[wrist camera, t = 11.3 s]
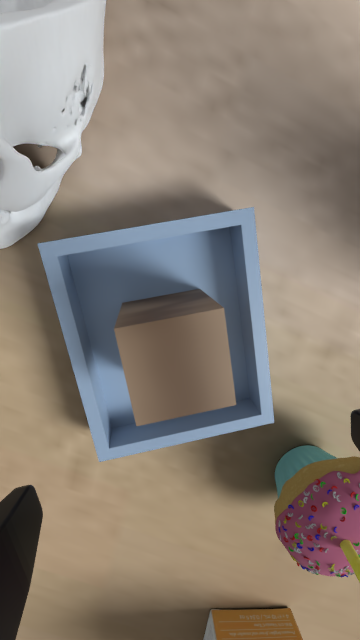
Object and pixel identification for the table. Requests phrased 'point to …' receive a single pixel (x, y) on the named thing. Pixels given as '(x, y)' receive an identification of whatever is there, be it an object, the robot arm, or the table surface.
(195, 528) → the table surface
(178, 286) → the tray
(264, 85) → the table surface
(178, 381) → the block
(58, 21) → the skull bowl
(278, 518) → the cupcake
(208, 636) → the small box
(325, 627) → the table surface
